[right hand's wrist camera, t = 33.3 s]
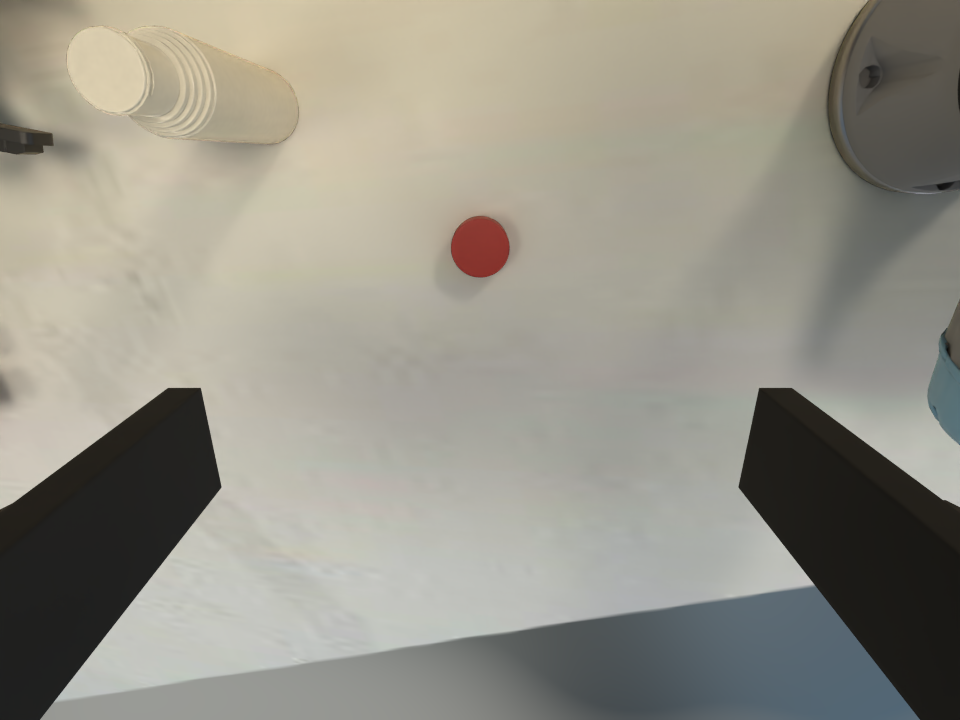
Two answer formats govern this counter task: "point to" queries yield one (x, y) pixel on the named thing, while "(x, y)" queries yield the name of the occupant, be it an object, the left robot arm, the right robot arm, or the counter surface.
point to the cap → (480, 246)
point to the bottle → (180, 86)
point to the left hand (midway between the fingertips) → (34, 58)
